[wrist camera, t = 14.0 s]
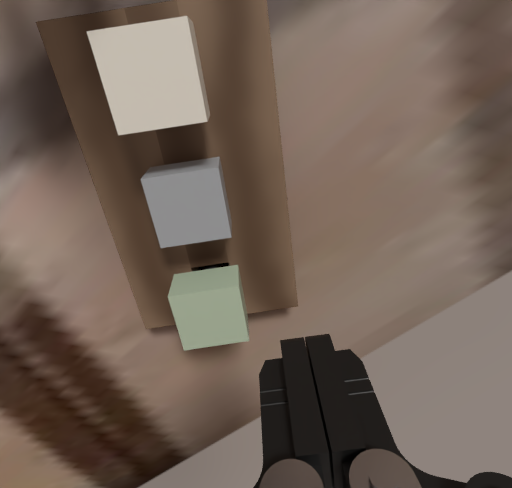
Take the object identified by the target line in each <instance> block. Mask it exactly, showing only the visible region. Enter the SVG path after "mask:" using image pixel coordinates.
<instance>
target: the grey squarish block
mask: <svg viewBox="0 0 512 488" xmlns="http://www.w3.org/2000/svg"><path fill="white" fill-rule="evenodd" d="M141 183H142V186H143V189H144V193H145V196H146V200H147V203H148V206H149V210H150V213H151V217H152V220H153V223H154V227H155V230H156V234H157V237H158V240H159V244H160V247H161V248H166V247H172V246H179V245H186V244H192V243H199V242H206V241H212V240H219V239H225V238H232V220H231V215H230V210H229V204H228V199H227V193H226V188H225V182H224V177H223V171H222V166H221V161H220V157H214V158H207V159H201V160H194V161H187V162H181V163H174V164H168V165H161V166H155V167H150V168H149V169H148V171H147V172H146V173H145V174H144V175H143V177H142V178H141Z"/></svg>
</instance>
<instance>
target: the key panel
mask: <svg viewBox="0 0 512 488" xmlns="http://www.w3.org/2000/svg"><path fill="white" fill-rule="evenodd" d="M182 16H188V17H189V18H190V20H191V21H192V22H193V25H194V30H195V36H196V41H197V46H198V52H199V57H200V63H201V68H202V73H203V79H204V84H205V89H206V95H207V100H208V106H209V111H210V117H209V119H208V122H203V123H196V124H190V125H183V126H177V127H170V128H164V129H157V130H151V131H144V132H138V133H131V134H125V135H118V133H117V130H116V126H115V123H114V120H113V117H112V113H111V110H110V107H109V103H108V100H107V97H106V94H105V90H104V87H103V84H102V81H101V77H100V74H99V71H98V68H97V64H96V61H95V58H94V54H93V51H92V48H91V45H90V41H89V38H88V35H87V32H86V31H92V30H99V29H105V28H112V27H118V26H125V25H131V24H137V23H144V22H150V21H157V20H163V19H170V18H176V17H182ZM36 24H37V27H38V29H39V32H40V35H41V38H42V40H43V43H44V46H45V49H46V52H47V54H48V57H49V60H50V63H51V66H52V68H53V71H54V74H55V77H56V80H57V82H58V85H59V88H60V91H61V93H62V96H63V99H64V102H65V105H66V107H67V110H68V113H69V116H70V119H71V121H72V124H73V127H74V130H75V133H76V135H77V138H78V141H79V144H80V147H81V149H82V152H83V155H84V158H85V160H86V163H87V166H88V169H89V172H90V174H91V177H92V180H93V183H94V186H95V188H96V191H97V194H98V197H99V200H100V202H101V205H102V208H103V211H104V213H105V216H106V219H107V222H108V225H109V227H110V230H111V233H112V236H113V239H114V241H115V244H116V247H117V250H118V253H119V255H120V258H121V261H122V264H123V267H124V269H125V272H126V275H127V278H128V280H129V283H130V286H131V289H132V292H133V294H134V297H135V300H136V303H137V306H138V308H139V311H140V314H141V317H142V320H143V322H144V325H145V328H146V329H150V328H156V327H163V326H170V325H176V322H175V319H174V316H173V313H172V309H171V306H170V303H169V300H168V294H169V290H170V287H171V283H172V280H173V276H174V274H179V273H186V272H193V271H199V268H198V267H200V266H207V265H214V264H220V263H227V262H229V266H232V265H238V267H239V272H240V278H241V283H242V288H243V294H244V299H245V304H246V310H247V314H250V313H257V312H263V311H270V310H277V309H283V308H290V307H297V306H298V301H297V291H296V281H295V272H294V262H293V252H292V243H291V233H290V223H289V213H288V204H287V194H286V184H285V174H284V165H283V155H282V145H281V135H280V126H279V116H278V106H277V97H276V87H275V77H274V67H273V58H272V48H271V38H270V28H269V19H268V9H267V0H173V1H167V2H160V3H154V4H147V5H141V6H134V7H128V8H122V9H115V10H109V11H102V12H96V13H90V14H83V15H77V16H70V17H64V18H57V19H51V20H45V21H38V22H36ZM214 157H220V161H221V166H222V171H223V177H224V182H225V188H226V193H227V199H228V204H229V210H230V215H231V220H232V238H225V239H219V240H212V241H206V242H199V243H192V244H186V245H179V246H172V247H166V248H161V247H160V244H159V240H158V237H157V234H156V230H155V227H154V223H153V220H152V217H151V213H150V210H149V206H148V203H147V200H146V196H145V193H144V189H143V186H142V183H141V178H142V177H143V175H144V174H145V173H146V172H147V171H148V169H149V168H150V167H155V166H161V165H168V164H174V163H181V162H187V161H194V160H201V159H207V158H214Z"/></svg>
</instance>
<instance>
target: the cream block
mask: <svg viewBox="0 0 512 488" xmlns="http://www.w3.org/2000/svg"><path fill="white" fill-rule="evenodd" d="M86 32H87V35H88V38H89V41H90V45H91V48H92V51H93V54H94V58H95V61H96V64H97V68H98V71H99V74H100V77H101V81H102V84H103V87H104V90H105V94H106V97H107V100H108V103H109V107H110V110H111V113H112V117H113V120H114V123H115V126H116V130H117V133H118V135H125V134H131V133H138V132H144V131H151V130H157V129H164V128H170V127H177V126H183V125H190V124H196V123H203V122H208V119H209V117H210V111H209V106H208V100H207V95H206V89H205V84H204V79H203V73H202V68H201V63H200V57H199V52H198V46H197V41H196V36H195V30H194V25H193V22H192V21H191V20H190V18H189V17H188V16H182V17H176V18H170V19H163V20H157V21H150V22H144V23H137V24H131V25H125V26H118V27H112V28H105V29H99V30H92V31H86Z"/></svg>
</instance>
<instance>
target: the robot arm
mask: <svg viewBox="0 0 512 488" xmlns="http://www.w3.org/2000/svg"><path fill="white" fill-rule="evenodd" d="M280 342H281V350H282V358H279V359H272V360H265V362H264V365H263V367H262V369H261V372H260V374H259V381H260V402H261V422H262V443H263V468H262V472H261V475H260V478H259V480H258V482H257V483H256V485H255V486H254V487H253V488H512V478H511V477H509V476H506V475H503V474H500V473H495V472H483V473H479V474H476V475H474V476H473V477H472V478H470V480H469V481H468V482H467V483H463V482H459V481H454V480H450V479H446V478H441V477H436V476H433V475H430V474H427V473H425V472H423V471H421V470H419V469H417V468H416V467H415V466H413V465H412V464H410V463H409V462H408V461H407V460H406V459H405V458H404V457H403V455H402V454H401V453H400V451H399V450H398V449H397V446H396V444H395V442H394V440H393V437H392V435H391V432H390V430H389V427H388V425H387V422H386V420H385V417H384V415H383V412H382V410H381V407H380V405H379V402H378V400H377V397H376V395H375V393H374V390H373V387H372V385H371V382H370V380H369V378H368V375H367V372H366V370H365V367H364V365H363V362H362V361H361V360H360V359H359V358H358V357H357V356H356V355H355V354H354V353H353V352H352V351H351V350H350V349H348V350H340V351H335V350H334V346H333V343H332V340H331V337H330V335H329V334H324V335H316V336H308V337H305V341H304V338H303V337H302V338H294V339H287V340H280ZM305 342H306V345H305Z"/></svg>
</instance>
